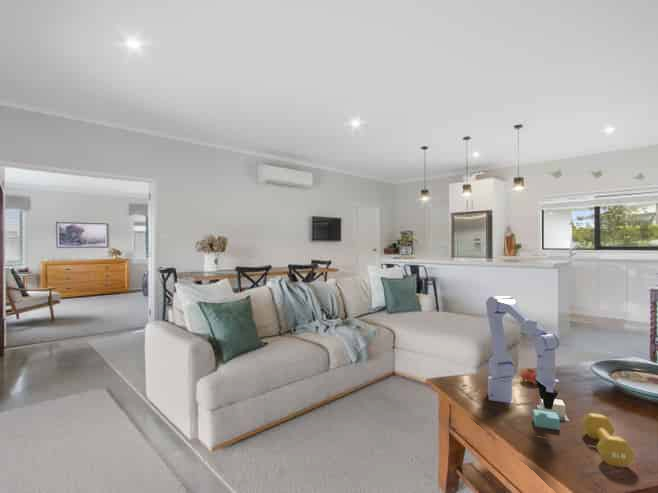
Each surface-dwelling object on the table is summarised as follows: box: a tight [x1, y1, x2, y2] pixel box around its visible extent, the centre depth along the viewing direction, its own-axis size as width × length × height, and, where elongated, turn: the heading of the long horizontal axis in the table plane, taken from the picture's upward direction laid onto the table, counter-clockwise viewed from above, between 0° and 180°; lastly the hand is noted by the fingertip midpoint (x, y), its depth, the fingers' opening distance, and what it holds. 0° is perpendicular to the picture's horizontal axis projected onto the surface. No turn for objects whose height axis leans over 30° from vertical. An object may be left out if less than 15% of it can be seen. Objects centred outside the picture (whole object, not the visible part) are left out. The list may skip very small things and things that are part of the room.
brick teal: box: [532, 409, 561, 431], centre depth 126 cm, size 8×5×4 cm, turn 69°
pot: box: [520, 368, 537, 386], centre depth 164 cm, size 8×8×7 cm
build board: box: [536, 404, 570, 422], centre depth 135 cm, size 9×10×1 cm
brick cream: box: [539, 397, 566, 417], centre depth 135 cm, size 8×5×4 cm, turn 67°
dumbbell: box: [581, 412, 636, 469], centre depth 111 cm, size 19×9×8 cm, turn 158°
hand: (546, 403), depth 126 cm, fingers open, 7 cm apart
